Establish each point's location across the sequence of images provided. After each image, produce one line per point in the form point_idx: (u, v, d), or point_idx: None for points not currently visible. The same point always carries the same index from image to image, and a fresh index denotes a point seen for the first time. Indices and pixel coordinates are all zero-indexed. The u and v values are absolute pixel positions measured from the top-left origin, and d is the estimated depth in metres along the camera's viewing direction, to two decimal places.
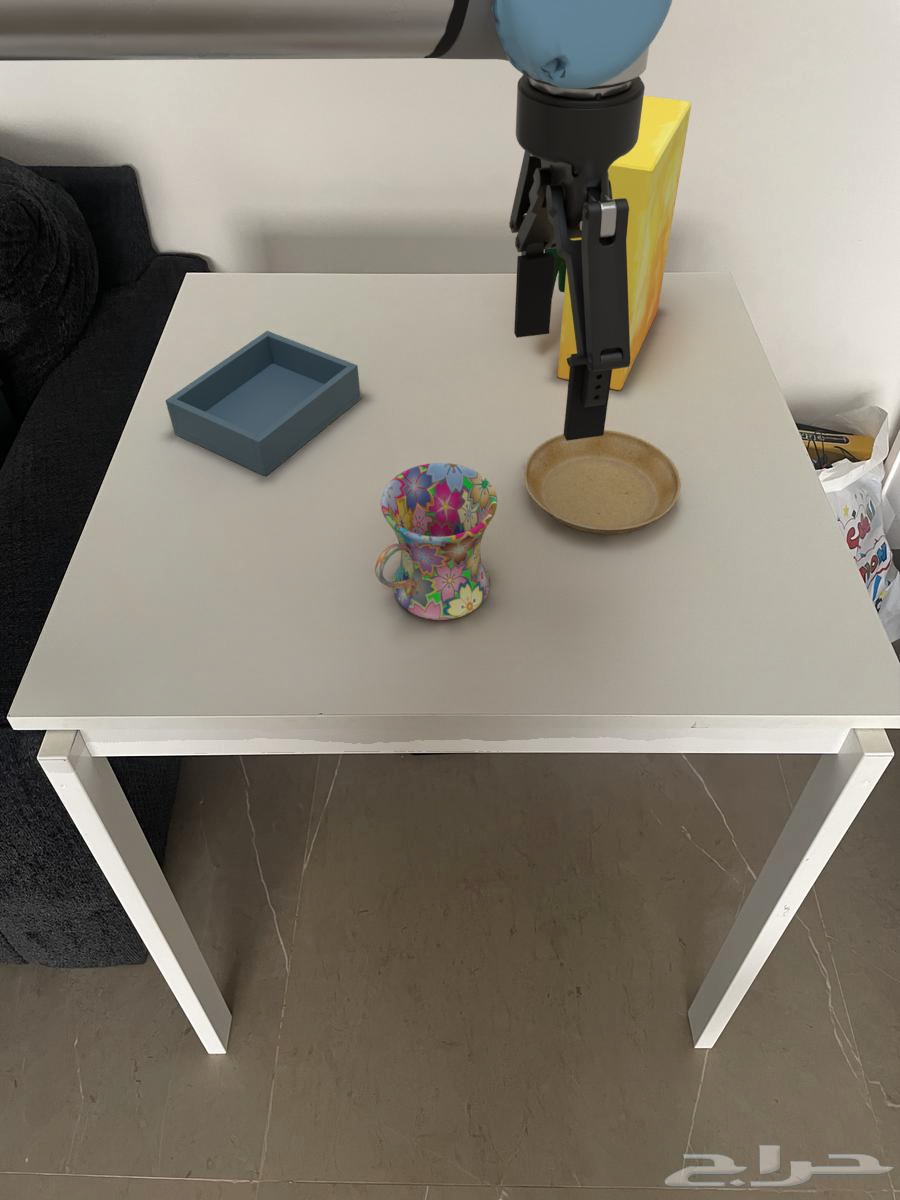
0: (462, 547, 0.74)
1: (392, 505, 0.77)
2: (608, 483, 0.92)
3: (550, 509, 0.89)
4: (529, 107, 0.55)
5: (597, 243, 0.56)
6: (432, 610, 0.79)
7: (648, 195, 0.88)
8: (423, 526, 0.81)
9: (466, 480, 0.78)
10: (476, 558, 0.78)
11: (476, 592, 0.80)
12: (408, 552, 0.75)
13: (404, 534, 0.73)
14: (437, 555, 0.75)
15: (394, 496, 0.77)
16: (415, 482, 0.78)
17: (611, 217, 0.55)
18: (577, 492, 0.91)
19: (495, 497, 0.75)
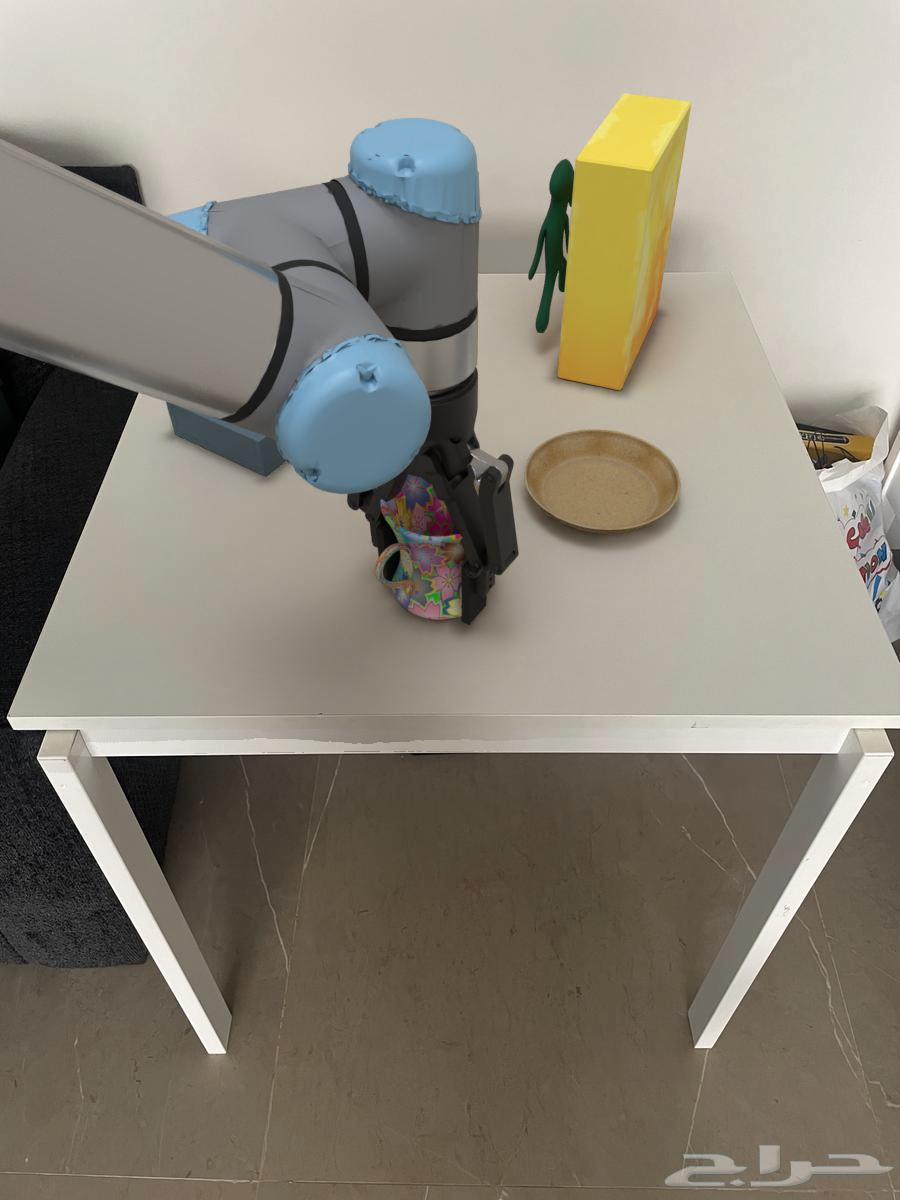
0: (461, 547, 0.74)
1: (392, 505, 0.77)
2: (608, 483, 0.92)
3: (550, 509, 0.89)
4: None
5: (496, 494, 0.68)
6: (432, 610, 0.79)
7: (648, 195, 0.88)
8: (422, 526, 0.81)
9: None
10: None
11: None
12: (408, 552, 0.75)
13: (404, 534, 0.73)
14: (437, 555, 0.75)
15: None
16: (414, 481, 0.78)
17: (505, 474, 0.68)
18: (577, 492, 0.91)
19: None
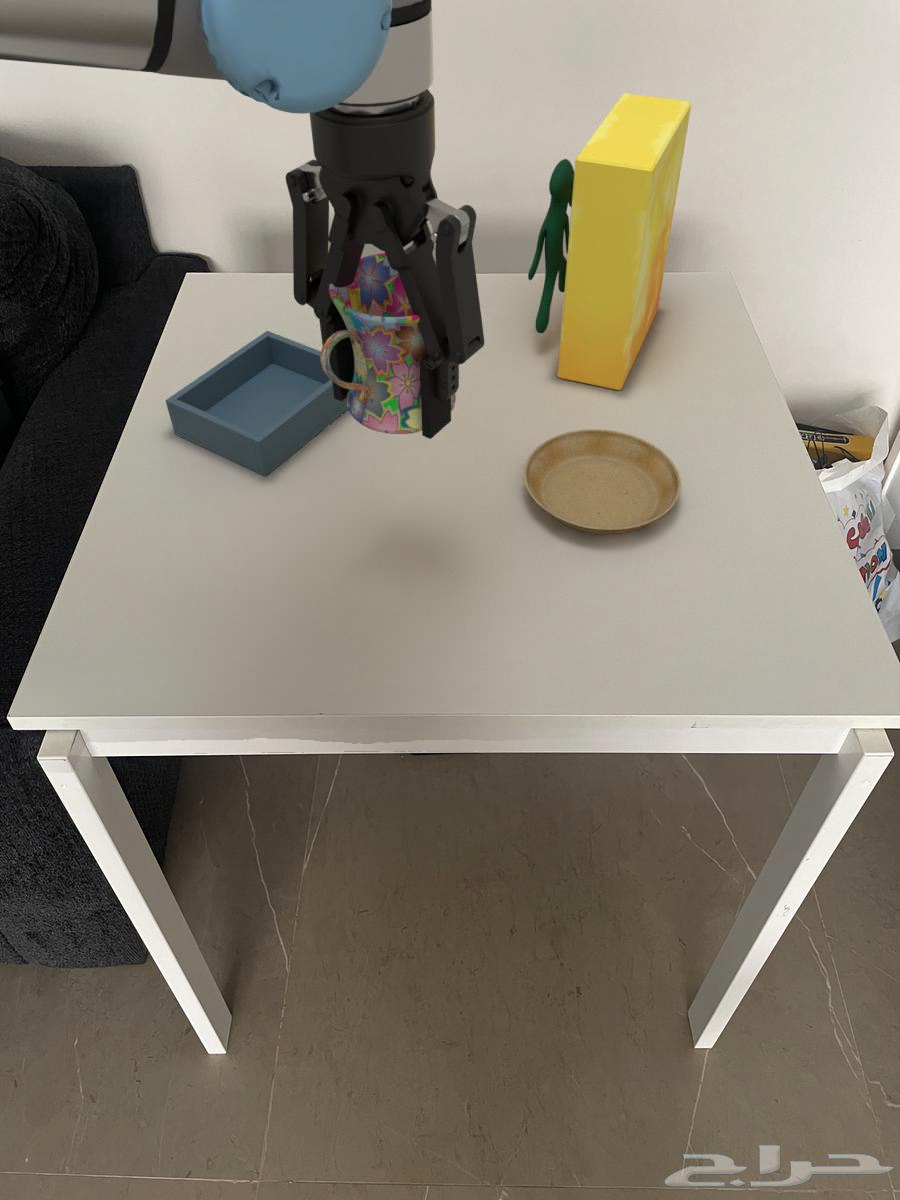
0: (420, 336, 0.65)
1: (343, 293, 0.67)
2: (608, 483, 0.92)
3: (550, 509, 0.89)
4: (353, 134, 0.54)
5: (455, 252, 0.59)
6: (389, 421, 0.70)
7: (648, 195, 0.88)
8: None
9: None
10: None
11: None
12: (359, 343, 0.66)
13: (353, 316, 0.64)
14: (392, 345, 0.66)
15: None
16: (370, 273, 0.69)
17: (466, 227, 0.58)
18: (577, 492, 0.91)
19: None
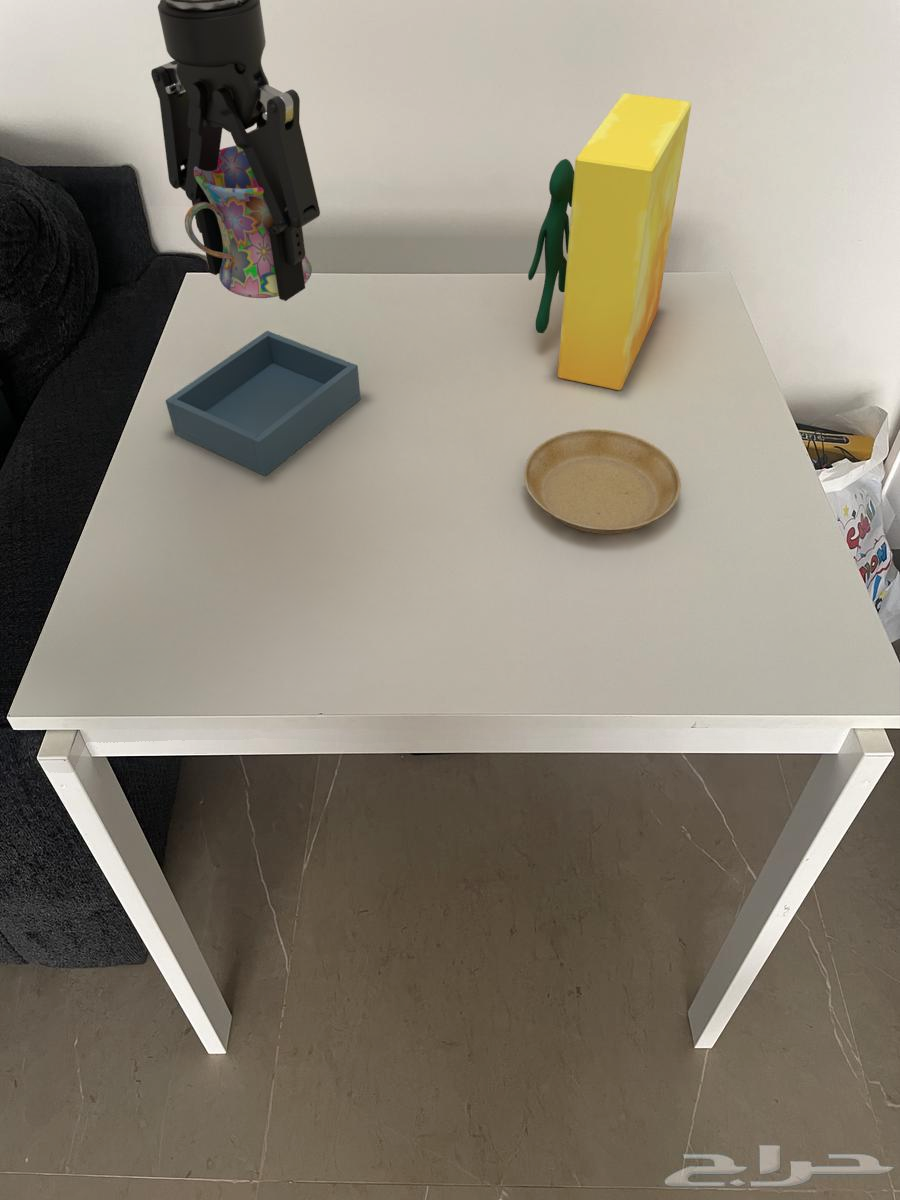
0: None
1: (207, 176, 0.81)
2: (608, 483, 0.92)
3: (550, 509, 0.89)
4: (190, 26, 0.68)
5: (283, 129, 0.73)
6: (251, 286, 0.84)
7: (648, 195, 0.88)
8: None
9: None
10: None
11: None
12: (219, 215, 0.80)
13: (210, 188, 0.78)
14: (245, 216, 0.79)
15: None
16: (232, 161, 0.83)
17: (290, 107, 0.72)
18: (577, 492, 0.91)
19: None
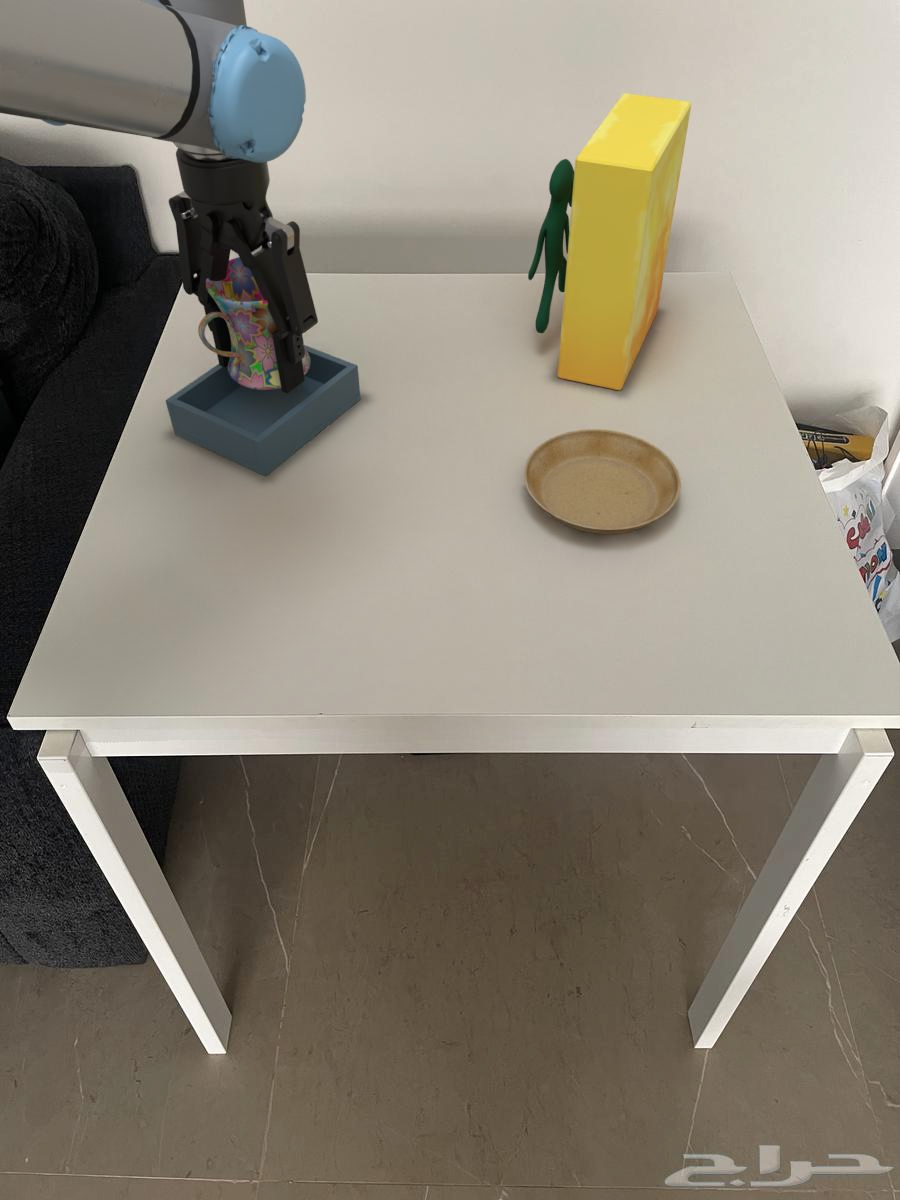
0: None
1: (218, 285, 0.92)
2: (608, 483, 0.92)
3: (550, 509, 0.89)
4: (204, 174, 0.78)
5: (286, 255, 0.83)
6: (256, 380, 0.94)
7: (648, 195, 0.88)
8: None
9: None
10: None
11: None
12: (228, 321, 0.90)
13: (221, 301, 0.88)
14: (252, 323, 0.90)
15: None
16: (240, 270, 0.93)
17: (292, 237, 0.83)
18: (577, 492, 0.91)
19: None
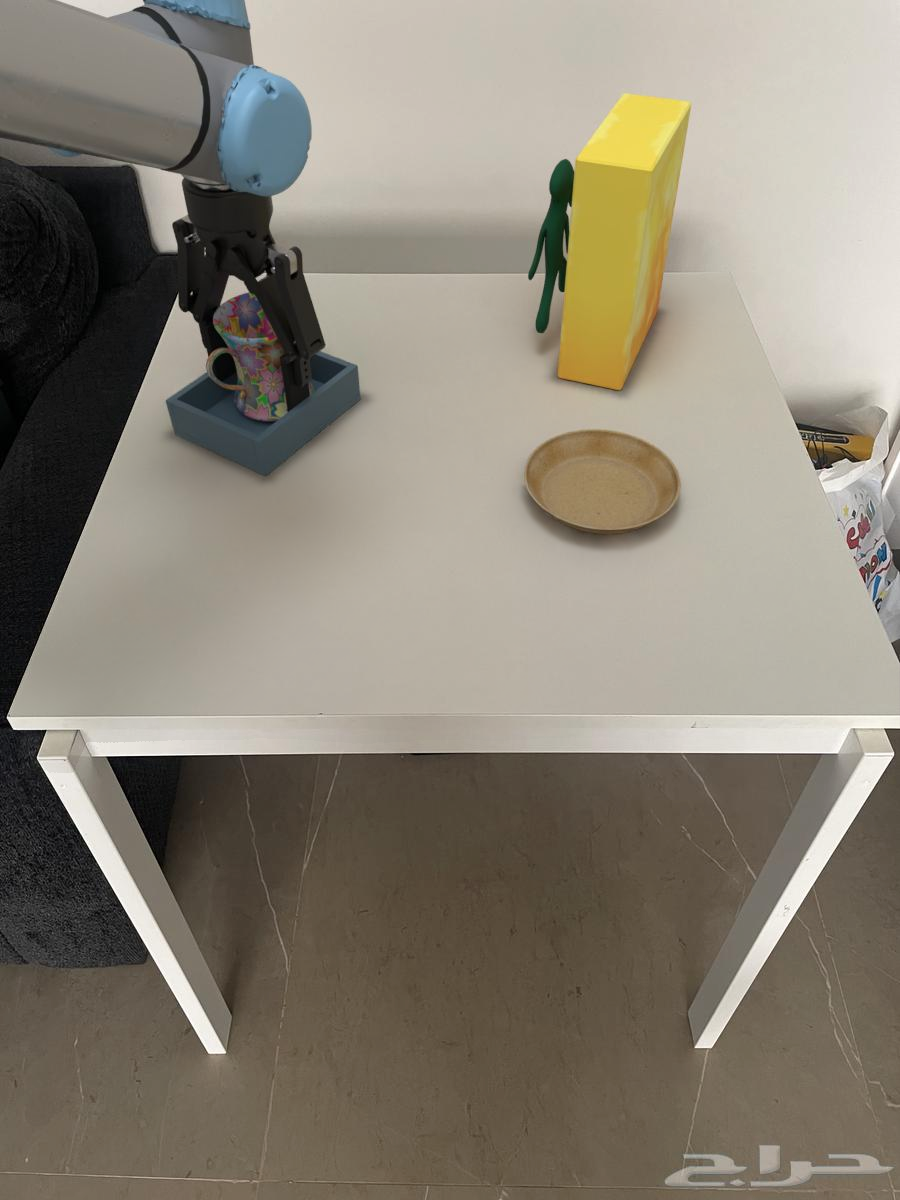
0: (277, 351, 0.92)
1: (224, 321, 0.94)
2: (608, 483, 0.92)
3: (550, 509, 0.89)
4: (209, 203, 0.80)
5: (289, 279, 0.85)
6: (262, 412, 0.97)
7: (648, 195, 0.88)
8: None
9: None
10: None
11: None
12: (235, 357, 0.93)
13: (228, 337, 0.91)
14: (258, 358, 0.93)
15: (226, 315, 0.95)
16: (245, 306, 0.96)
17: (294, 261, 0.84)
18: (577, 492, 0.91)
19: None
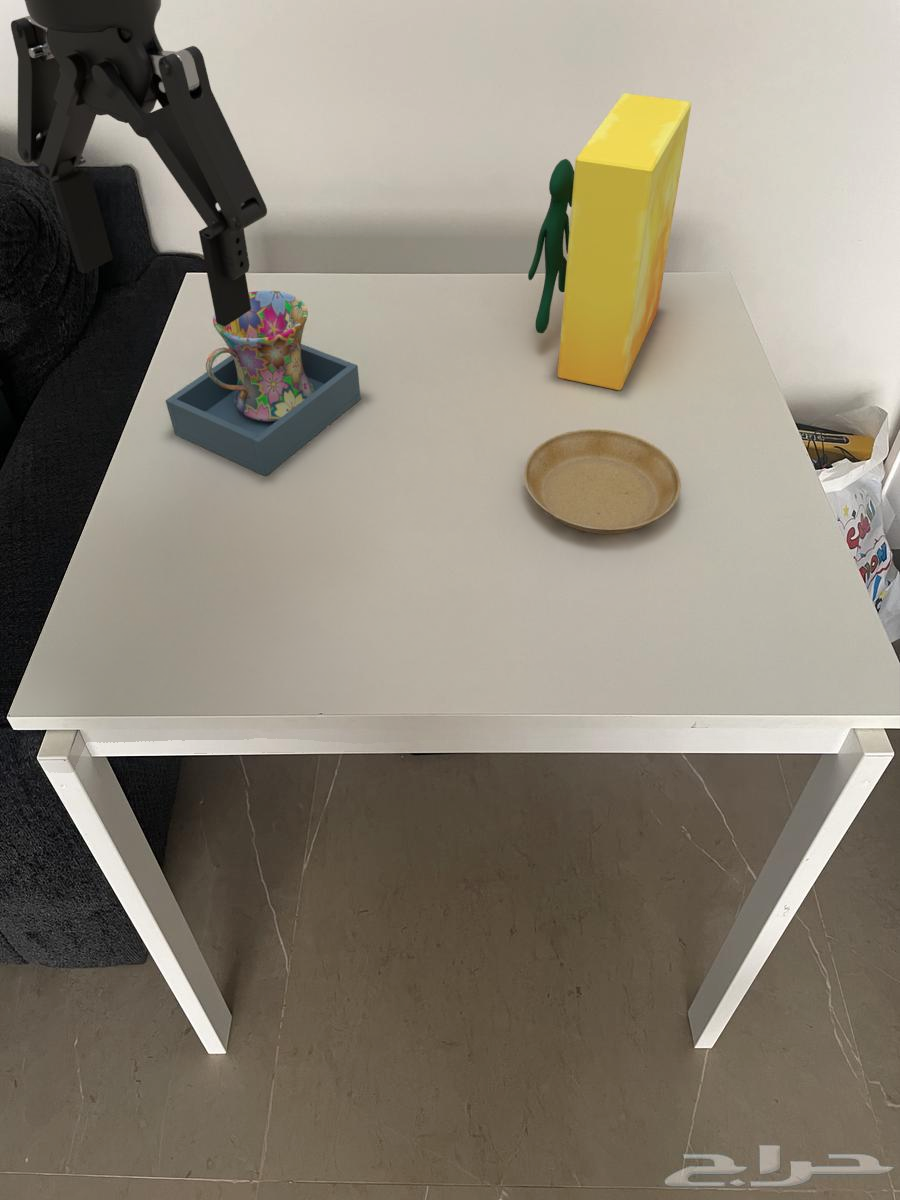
0: (277, 351, 0.92)
1: None
2: (608, 483, 0.92)
3: (550, 509, 0.89)
4: None
5: (189, 97, 0.55)
6: (262, 412, 0.97)
7: (648, 195, 0.88)
8: None
9: (287, 304, 0.96)
10: (296, 367, 0.96)
11: (299, 399, 0.98)
12: (235, 357, 0.93)
13: (228, 337, 0.91)
14: (258, 358, 0.93)
15: None
16: None
17: (191, 66, 0.54)
18: (577, 492, 0.91)
19: (306, 312, 0.93)
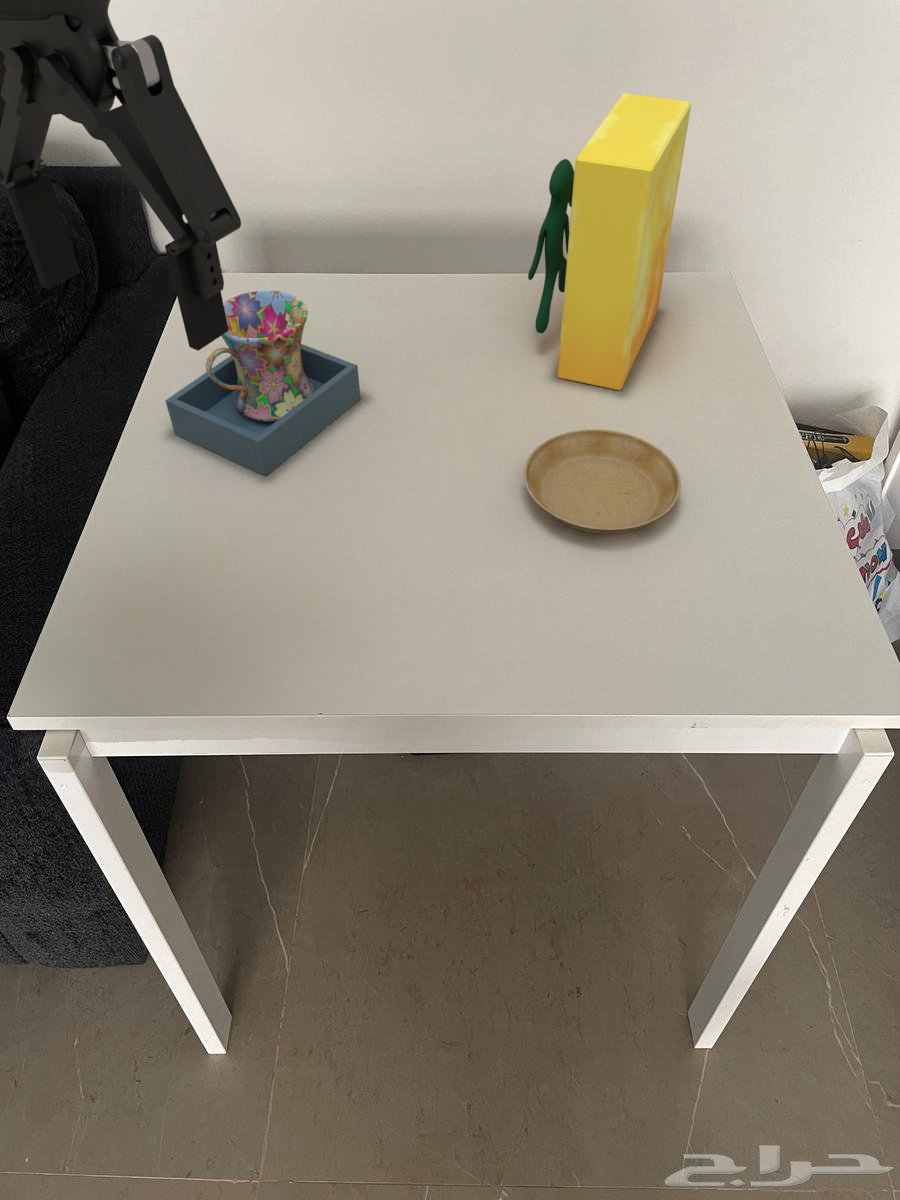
0: (277, 351, 0.92)
1: None
2: (608, 483, 0.92)
3: (550, 509, 0.89)
4: None
5: (147, 94, 0.47)
6: (262, 412, 0.97)
7: (648, 195, 0.88)
8: None
9: (287, 304, 0.96)
10: (296, 367, 0.96)
11: (299, 399, 0.98)
12: (235, 357, 0.93)
13: (228, 337, 0.91)
14: (258, 358, 0.93)
15: (226, 315, 0.95)
16: (245, 306, 0.96)
17: (149, 58, 0.47)
18: (577, 492, 0.91)
19: (306, 312, 0.93)
